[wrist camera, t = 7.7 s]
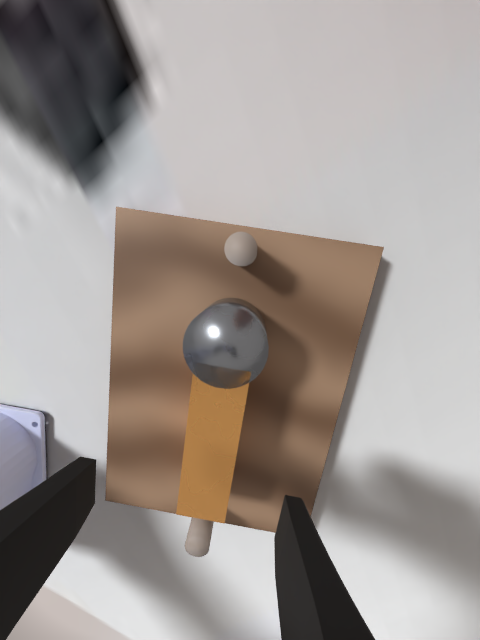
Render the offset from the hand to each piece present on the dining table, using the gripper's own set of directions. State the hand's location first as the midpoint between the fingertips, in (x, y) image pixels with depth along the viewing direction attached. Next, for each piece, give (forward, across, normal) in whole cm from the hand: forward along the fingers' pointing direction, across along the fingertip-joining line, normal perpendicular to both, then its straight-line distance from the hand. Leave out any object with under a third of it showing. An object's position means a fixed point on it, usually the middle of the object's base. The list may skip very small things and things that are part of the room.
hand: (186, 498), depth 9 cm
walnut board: (+9, 0, 0) cm, 9 cm away
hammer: (+8, 0, 0) cm, 8 cm away
